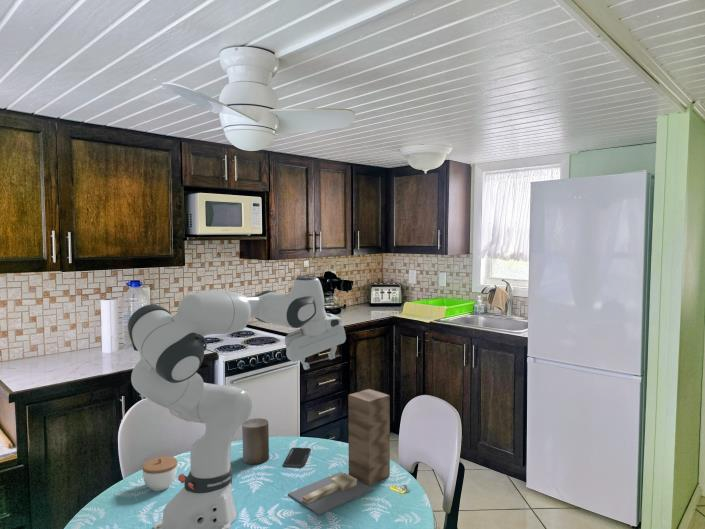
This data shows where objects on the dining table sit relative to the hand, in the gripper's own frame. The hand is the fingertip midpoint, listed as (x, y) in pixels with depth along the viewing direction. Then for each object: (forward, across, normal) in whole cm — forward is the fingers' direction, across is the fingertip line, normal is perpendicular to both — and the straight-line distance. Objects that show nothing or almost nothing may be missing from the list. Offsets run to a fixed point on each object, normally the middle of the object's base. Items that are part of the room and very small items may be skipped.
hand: (319, 363), depth 155 cm
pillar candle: (+42, -20, +25) cm, 53 cm away
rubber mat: (+39, -8, -11) cm, 41 cm away
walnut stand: (+43, +8, -8) cm, 45 cm away
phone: (+44, -7, +17) cm, 48 cm away
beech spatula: (+38, -8, -11) cm, 41 cm away
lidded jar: (+34, -53, +23) cm, 67 cm away
